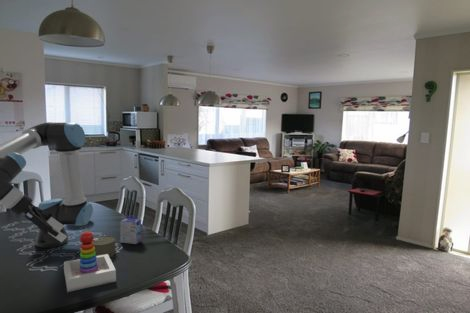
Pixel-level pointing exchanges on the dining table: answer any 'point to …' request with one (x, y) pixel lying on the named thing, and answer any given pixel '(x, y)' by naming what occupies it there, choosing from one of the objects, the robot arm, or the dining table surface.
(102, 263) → the walled box
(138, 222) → the ink cartridge box
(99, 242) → the can
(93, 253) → the stacking toy
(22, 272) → the dining table surface
